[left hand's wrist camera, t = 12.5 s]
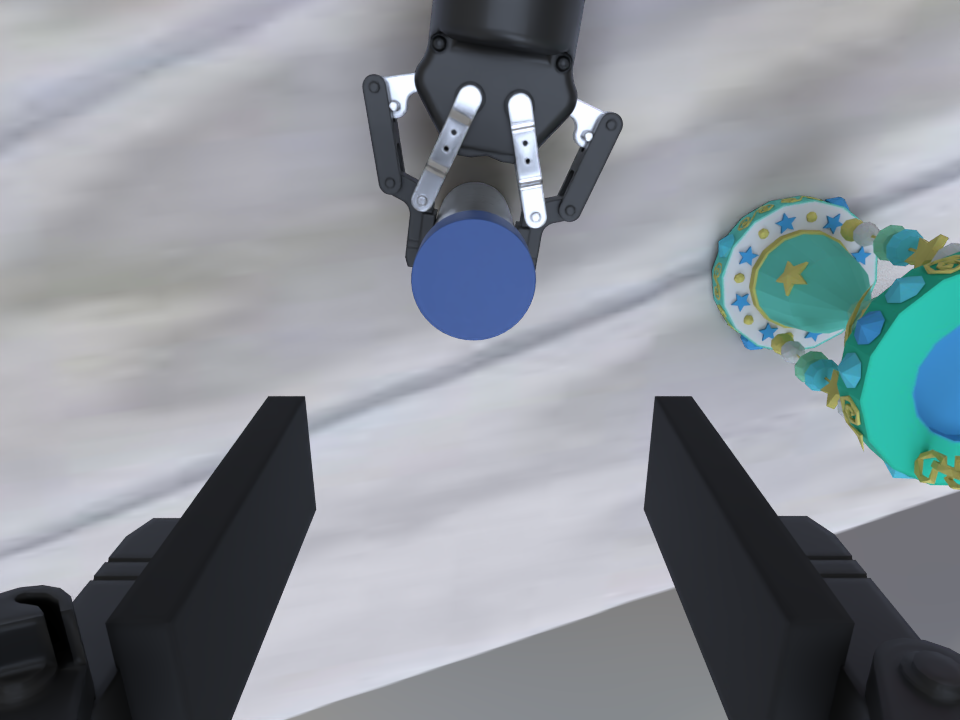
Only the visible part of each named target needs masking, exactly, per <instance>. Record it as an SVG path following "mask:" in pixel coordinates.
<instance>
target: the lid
mask: <svg viewBox="0 0 960 720" xmlns="http://www.w3.org/2000/svg"><path fill="white" fill-rule="evenodd" d="M411 284H412V291H413V295H414V299H415V301H416V304H417V306H418V308H419V309H420V311H421V313H422V314H423V315H424V317H425V318H426V319H427V320H428V321H429V322H430V323H431V324H432V325H433V326H434V327H436V328H437V329H438V330H440V331H442V332H443V333H445V334H447V335H450V336H452V337H455V338H459V339H464V340H483V339H488V338H492V337H495V336H498V335H500V334H502V333H504V332H506V331H507V330H509V329H510V328H512V327H513V326H514V325H515V324H517V323H518V322H519V320H520V319H521V318H522V317H523V316H524V314H525V313H526V312H527V310H528V308H529V306H530V304H531V302H532V299H533V296H534V291H535V284H536V274H535V268H534V264H533V260H532V257H531V255H530V252H529V249H528V246H527V244H526V242H525V240H524V238H523V237H522V235H521V234H520V232H519V231H518V230H517V229H516V228H515V227H514V226H513V225H512V224H511V223H510V222H508V221H507V220H505V219H504V218H502V217H500V216H498V215H496V214H493V213H490V212H486V211H480V210H468V211H462V212H457V213H454V214H452V215H449V216H447V217H445V218H443V219H442V220H441V221H439V222H438V223H436V224H435V225H434V226H433V227H432V228H431V229H430V230H429V232H428V233H427V234H426V236H425V237H424V239H423V241H422V243H421V245H420V247H419V250H418V252H417V255H416V257H415V260H414V263H413V268H412V274H411Z"/></svg>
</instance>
